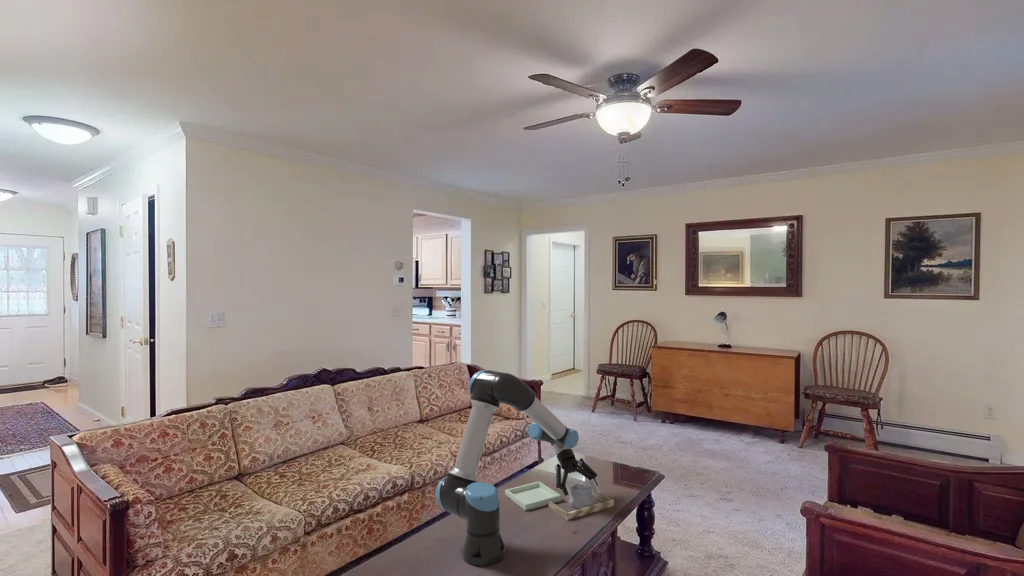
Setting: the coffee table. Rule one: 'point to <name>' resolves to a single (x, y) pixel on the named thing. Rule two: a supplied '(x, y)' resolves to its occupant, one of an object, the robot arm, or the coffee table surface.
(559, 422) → the robot arm
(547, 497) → the sage-green tray
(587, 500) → the medicine box
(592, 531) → the coffee table surface
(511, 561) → the coffee table surface
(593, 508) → the frame
